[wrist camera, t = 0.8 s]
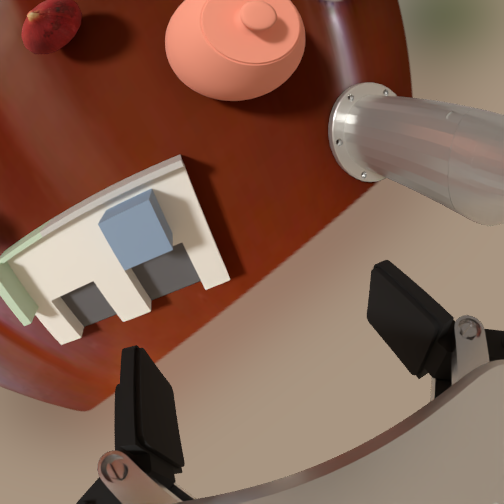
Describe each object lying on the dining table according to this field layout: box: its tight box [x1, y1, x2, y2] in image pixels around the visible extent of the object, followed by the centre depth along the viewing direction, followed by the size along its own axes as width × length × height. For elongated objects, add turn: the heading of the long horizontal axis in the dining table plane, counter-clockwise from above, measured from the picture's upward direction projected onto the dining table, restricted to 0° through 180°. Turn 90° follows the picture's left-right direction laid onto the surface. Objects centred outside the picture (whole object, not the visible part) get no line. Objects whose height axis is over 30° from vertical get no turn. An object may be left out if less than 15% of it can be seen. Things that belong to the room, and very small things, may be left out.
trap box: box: [0, 155, 230, 345], centre depth 26 cm, size 25×14×6 cm, turn 107°
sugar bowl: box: [165, 0, 305, 101], centre depth 16 cm, size 12×14×10 cm
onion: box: [22, 0, 82, 54], centre depth 12 cm, size 6×6×8 cm
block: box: [98, 189, 173, 271], centre depth 24 cm, size 5×5×4 cm
